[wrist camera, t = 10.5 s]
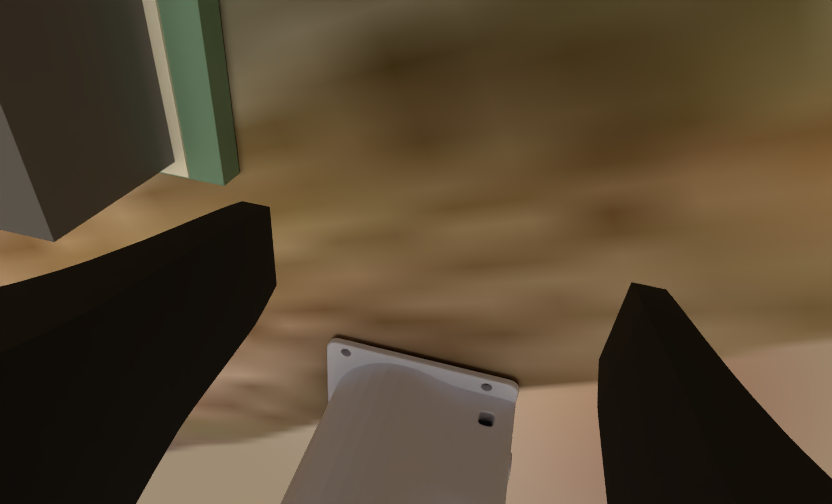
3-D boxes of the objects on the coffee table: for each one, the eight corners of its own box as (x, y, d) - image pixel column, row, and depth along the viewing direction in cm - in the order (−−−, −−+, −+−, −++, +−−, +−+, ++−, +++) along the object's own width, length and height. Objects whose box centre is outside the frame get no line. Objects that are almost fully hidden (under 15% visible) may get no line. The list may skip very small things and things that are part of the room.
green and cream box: (203, -119, 16) (86, -126, 12) (239, 173, 22) (168, 232, 18) (-17, -144, 17) (-188, -158, 13) (73, 140, 23) (-28, 188, 19)
